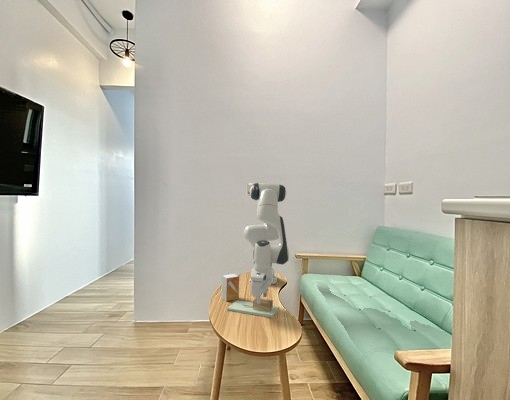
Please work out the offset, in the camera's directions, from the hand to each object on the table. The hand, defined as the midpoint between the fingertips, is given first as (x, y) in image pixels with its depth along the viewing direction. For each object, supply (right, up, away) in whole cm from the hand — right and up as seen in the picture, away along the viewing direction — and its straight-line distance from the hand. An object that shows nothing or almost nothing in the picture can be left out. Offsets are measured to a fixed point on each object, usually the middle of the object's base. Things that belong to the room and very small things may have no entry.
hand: (262, 299), depth 150 cm
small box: (-18, -5, +17) cm, 25 cm away
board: (-4, -6, +1) cm, 7 cm away
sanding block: (0, -4, 0) cm, 4 cm away
